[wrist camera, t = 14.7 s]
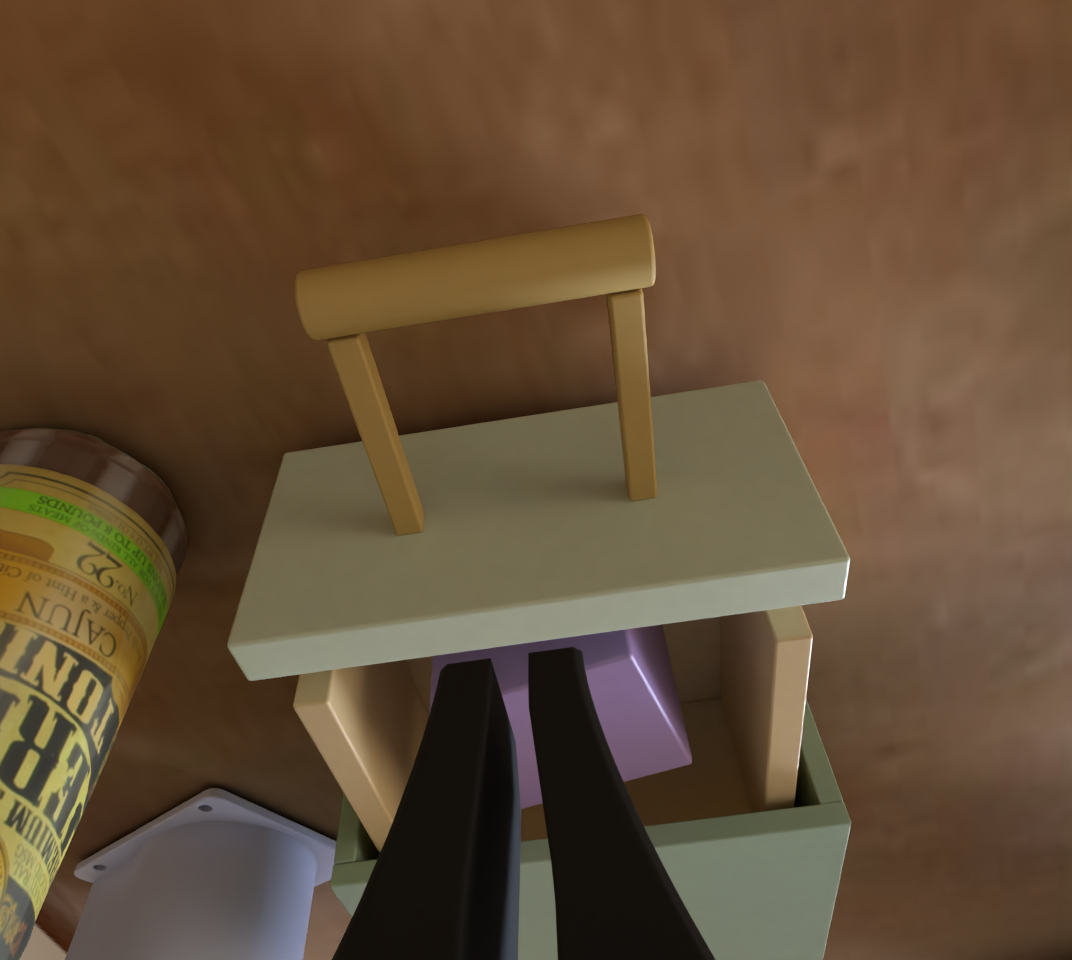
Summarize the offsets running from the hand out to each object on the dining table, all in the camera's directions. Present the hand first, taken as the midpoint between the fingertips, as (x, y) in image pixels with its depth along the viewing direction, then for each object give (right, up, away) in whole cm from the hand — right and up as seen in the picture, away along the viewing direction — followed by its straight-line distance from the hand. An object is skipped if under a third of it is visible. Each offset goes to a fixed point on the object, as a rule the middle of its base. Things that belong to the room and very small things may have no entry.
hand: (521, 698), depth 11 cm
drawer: (0, +2, +11) cm, 11 cm away
